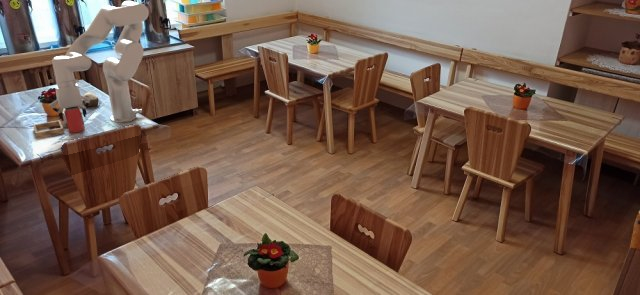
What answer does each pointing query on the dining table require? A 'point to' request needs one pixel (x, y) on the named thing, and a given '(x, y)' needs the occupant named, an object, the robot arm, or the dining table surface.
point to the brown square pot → (81, 116)
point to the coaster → (75, 133)
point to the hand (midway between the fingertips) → (73, 118)
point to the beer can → (74, 119)
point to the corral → (47, 125)
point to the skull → (92, 102)
